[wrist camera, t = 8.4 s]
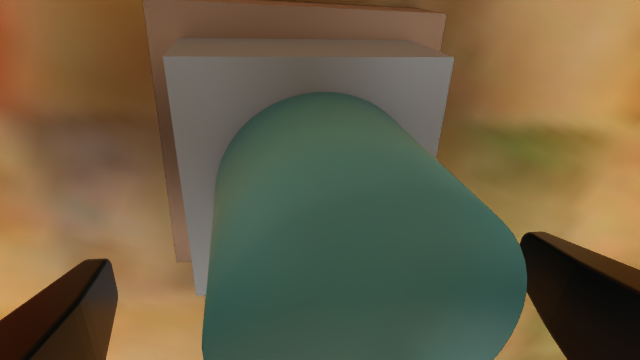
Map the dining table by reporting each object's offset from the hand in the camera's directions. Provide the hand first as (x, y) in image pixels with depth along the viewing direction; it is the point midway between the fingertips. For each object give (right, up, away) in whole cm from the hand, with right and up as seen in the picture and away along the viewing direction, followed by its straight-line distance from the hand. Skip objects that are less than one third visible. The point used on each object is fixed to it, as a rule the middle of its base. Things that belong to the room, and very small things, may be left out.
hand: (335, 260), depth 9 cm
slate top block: (-1, +3, +5) cm, 6 cm away
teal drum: (0, +1, +3) cm, 3 cm away
